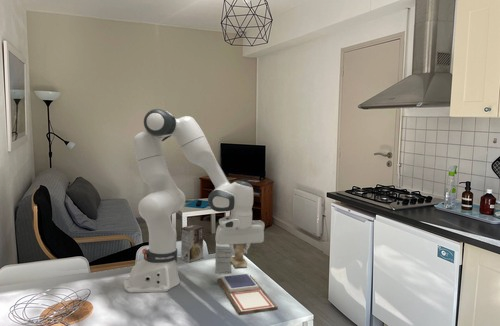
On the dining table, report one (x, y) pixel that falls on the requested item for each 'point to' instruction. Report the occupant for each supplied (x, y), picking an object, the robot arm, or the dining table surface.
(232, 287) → the ink pad
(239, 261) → the wooden stamp
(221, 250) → the supplement box
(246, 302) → the sheet
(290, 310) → the dining table surface
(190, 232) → the coffee box
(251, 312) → the stamping board
